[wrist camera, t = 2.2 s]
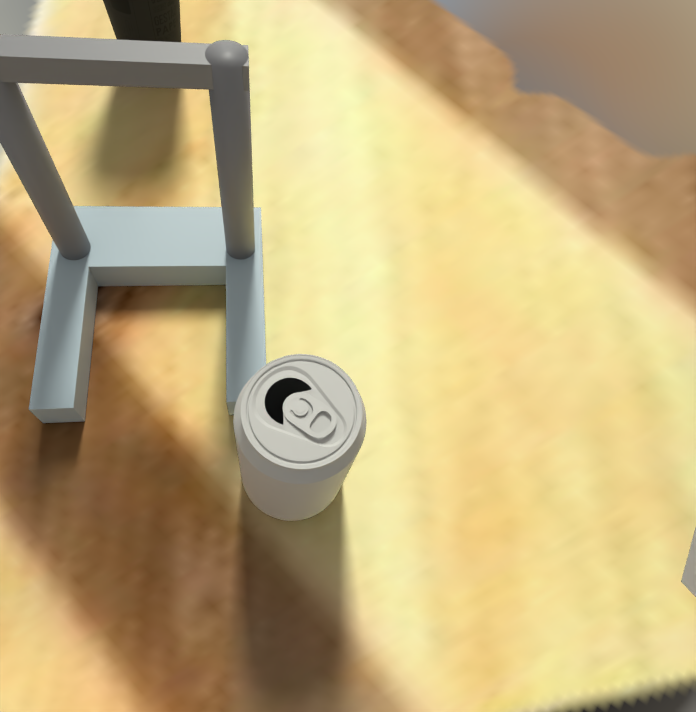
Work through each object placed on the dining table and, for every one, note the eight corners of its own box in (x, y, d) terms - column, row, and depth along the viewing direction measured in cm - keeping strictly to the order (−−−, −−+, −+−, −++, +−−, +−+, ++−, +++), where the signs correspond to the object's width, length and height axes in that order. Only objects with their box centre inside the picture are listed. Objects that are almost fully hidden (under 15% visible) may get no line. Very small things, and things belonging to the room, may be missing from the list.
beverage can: (282, 406, 40) (288, 321, 29) (361, 462, 39) (396, 396, 28) (220, 482, 38) (201, 420, 27) (302, 544, 37) (317, 506, 26)
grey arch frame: (267, 413, 40) (266, 260, 24) (42, 423, 38) (-126, 263, 22) (261, 228, 46) (257, 6, 30) (68, 228, 44) (-48, -10, 28)
